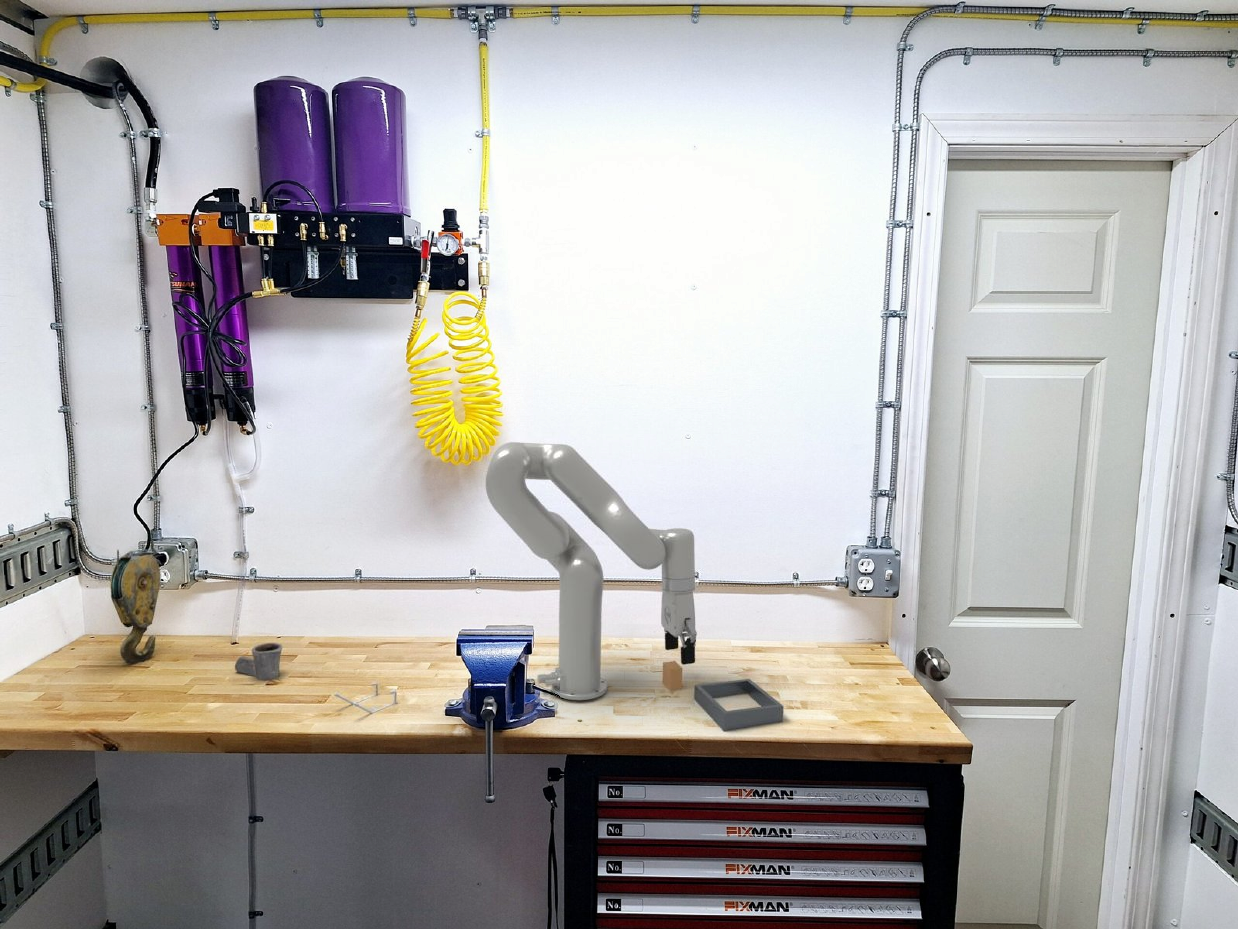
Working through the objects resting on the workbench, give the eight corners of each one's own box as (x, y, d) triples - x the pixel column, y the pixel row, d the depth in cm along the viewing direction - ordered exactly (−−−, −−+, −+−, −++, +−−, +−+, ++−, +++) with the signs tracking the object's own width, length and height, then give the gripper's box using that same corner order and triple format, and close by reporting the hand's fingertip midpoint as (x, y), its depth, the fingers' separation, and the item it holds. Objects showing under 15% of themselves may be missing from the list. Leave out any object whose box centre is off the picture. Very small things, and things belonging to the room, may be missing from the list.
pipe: (249, 670, 177) (248, 638, 176) (290, 677, 173) (289, 645, 172) (228, 679, 171) (227, 646, 171) (270, 687, 167) (269, 653, 167)
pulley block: (147, 652, 187) (142, 538, 184) (169, 653, 187) (165, 538, 184) (107, 673, 173) (101, 549, 170) (131, 674, 173) (126, 550, 170)
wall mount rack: (403, 709, 157) (403, 689, 157) (360, 727, 149) (360, 705, 148) (370, 695, 164) (370, 675, 164) (327, 710, 156) (327, 690, 156)
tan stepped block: (669, 699, 165) (670, 669, 164) (662, 691, 169) (663, 662, 168) (705, 695, 168) (706, 665, 167) (697, 687, 172) (698, 658, 171)
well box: (723, 737, 147) (724, 713, 146) (693, 706, 161) (694, 685, 160) (782, 729, 151) (783, 706, 150) (748, 700, 165) (749, 678, 165)
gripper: (649, 576, 172) (651, 646, 174) (677, 595, 156) (678, 672, 157) (679, 573, 174) (680, 642, 176) (709, 591, 158) (710, 667, 160)
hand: (679, 656), depth 167 cm, fingers open, 9 cm apart
